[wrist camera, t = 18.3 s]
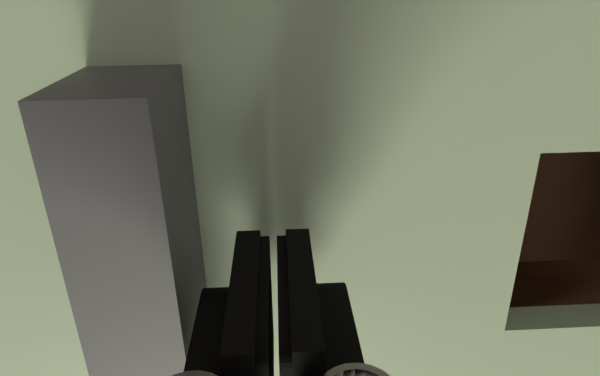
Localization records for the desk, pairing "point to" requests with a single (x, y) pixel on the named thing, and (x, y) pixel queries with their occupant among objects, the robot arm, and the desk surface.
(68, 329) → the lid
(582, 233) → the brown wooden box
